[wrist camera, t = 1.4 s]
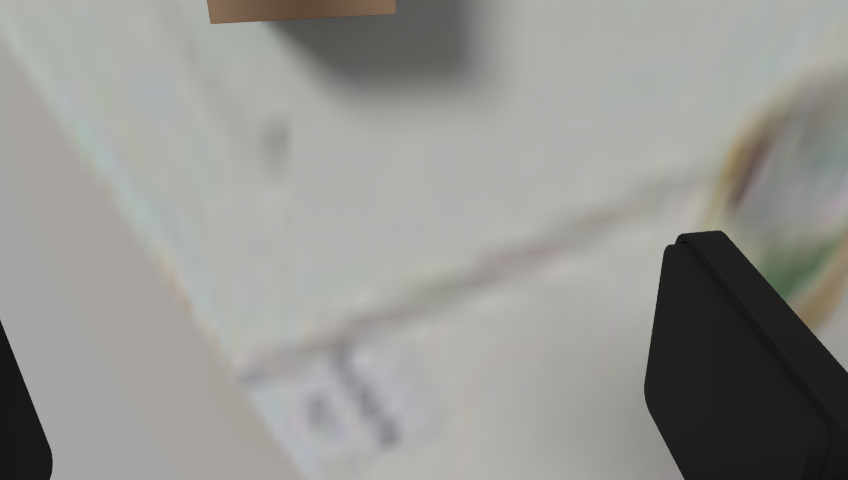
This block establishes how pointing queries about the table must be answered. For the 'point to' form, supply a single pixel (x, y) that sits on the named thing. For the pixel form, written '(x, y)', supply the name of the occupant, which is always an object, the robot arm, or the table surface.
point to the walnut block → (293, 9)
